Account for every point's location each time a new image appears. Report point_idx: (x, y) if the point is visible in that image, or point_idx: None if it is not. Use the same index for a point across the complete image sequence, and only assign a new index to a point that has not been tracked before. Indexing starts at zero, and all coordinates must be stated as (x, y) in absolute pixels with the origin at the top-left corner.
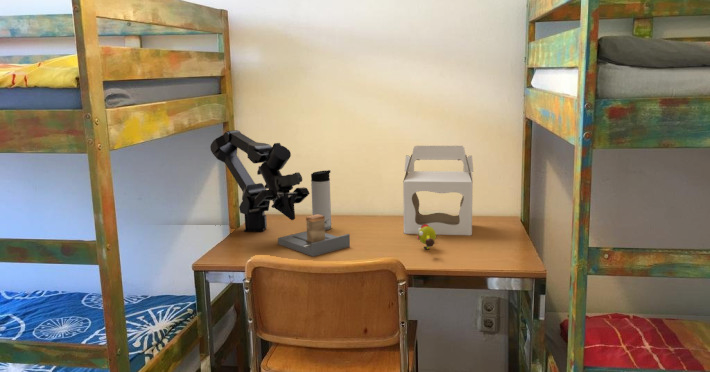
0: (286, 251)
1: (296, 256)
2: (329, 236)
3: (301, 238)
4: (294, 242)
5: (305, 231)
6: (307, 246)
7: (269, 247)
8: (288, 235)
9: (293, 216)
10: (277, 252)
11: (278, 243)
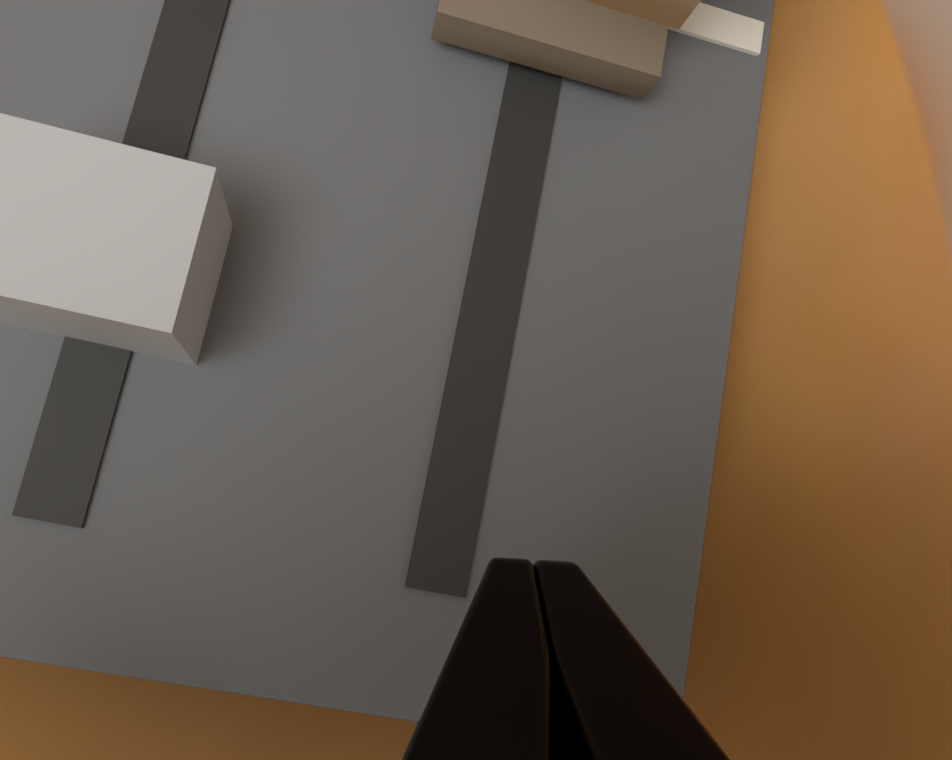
0: (794, 348)
1: (853, 99)
2: (76, 7)
3: (476, 344)
4: (698, 300)
5: (2, 652)
6: (725, 2)
7: (814, 708)
8: None
9: (553, 593)
10: (892, 422)
11: None
